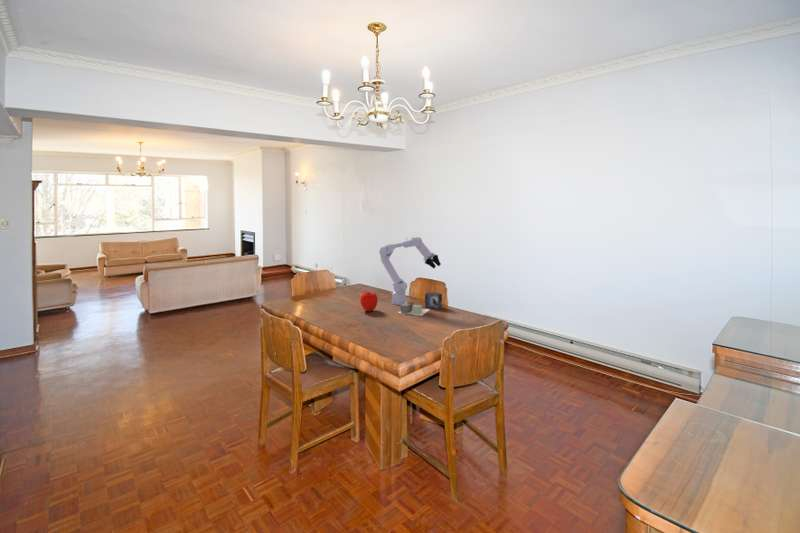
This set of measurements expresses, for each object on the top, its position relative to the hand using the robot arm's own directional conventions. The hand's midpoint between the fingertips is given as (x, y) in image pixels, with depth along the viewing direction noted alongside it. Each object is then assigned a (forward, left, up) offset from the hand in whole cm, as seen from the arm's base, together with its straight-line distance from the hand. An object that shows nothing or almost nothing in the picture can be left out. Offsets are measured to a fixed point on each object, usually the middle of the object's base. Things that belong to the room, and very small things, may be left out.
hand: (437, 266), depth 271 cm
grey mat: (-12, -12, -30) cm, 34 cm away
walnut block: (-15, -9, -30) cm, 34 cm away
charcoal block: (-16, -17, -30) cm, 38 cm away
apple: (-40, -24, -30) cm, 56 cm away
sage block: (-8, -16, -30) cm, 35 cm away
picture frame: (-3, +2, -30) cm, 30 cm away
